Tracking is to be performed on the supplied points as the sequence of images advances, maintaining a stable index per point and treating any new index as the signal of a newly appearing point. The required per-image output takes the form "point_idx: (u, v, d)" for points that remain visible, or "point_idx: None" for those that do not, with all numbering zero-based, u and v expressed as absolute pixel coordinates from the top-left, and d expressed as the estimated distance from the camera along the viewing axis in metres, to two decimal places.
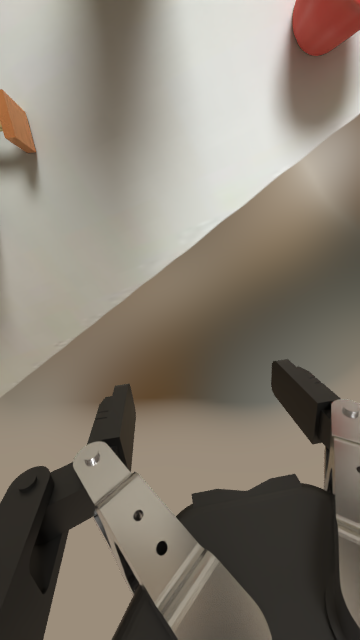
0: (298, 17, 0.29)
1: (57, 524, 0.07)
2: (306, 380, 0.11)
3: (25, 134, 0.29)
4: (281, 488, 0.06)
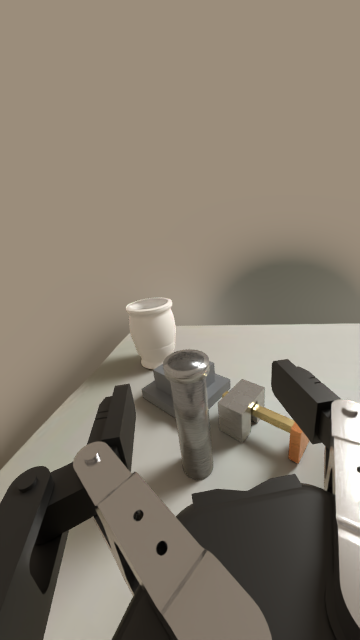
0: None
1: (57, 524, 0.07)
2: (306, 380, 0.11)
3: (303, 445, 0.29)
4: (281, 488, 0.06)
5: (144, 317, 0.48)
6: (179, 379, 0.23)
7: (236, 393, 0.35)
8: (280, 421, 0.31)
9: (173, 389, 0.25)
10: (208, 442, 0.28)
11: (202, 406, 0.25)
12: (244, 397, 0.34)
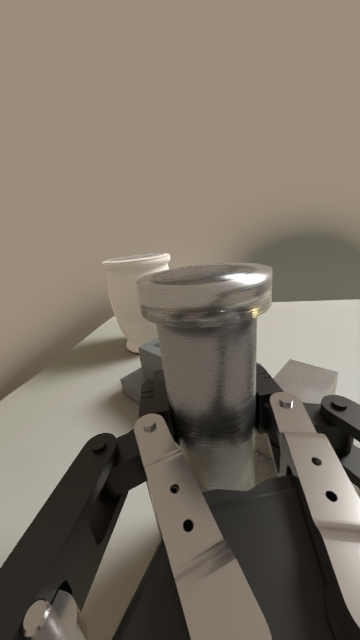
0: None
1: (123, 482, 0.08)
2: (256, 375, 0.11)
3: None
4: (281, 488, 0.06)
5: (127, 273, 0.32)
6: (185, 311, 0.07)
7: (287, 382, 0.19)
8: None
9: (166, 355, 0.09)
10: None
11: (246, 405, 0.09)
12: (305, 389, 0.18)
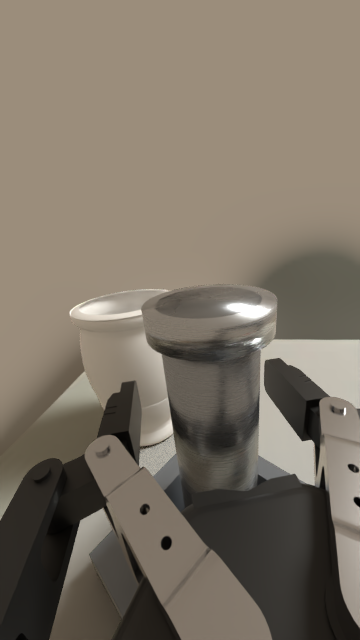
0: None
1: (70, 514, 0.08)
2: (296, 378, 0.11)
3: None
4: (281, 488, 0.06)
5: (108, 336, 0.19)
6: (191, 345, 0.07)
7: None
8: None
9: (171, 381, 0.09)
10: None
11: (250, 430, 0.09)
12: None
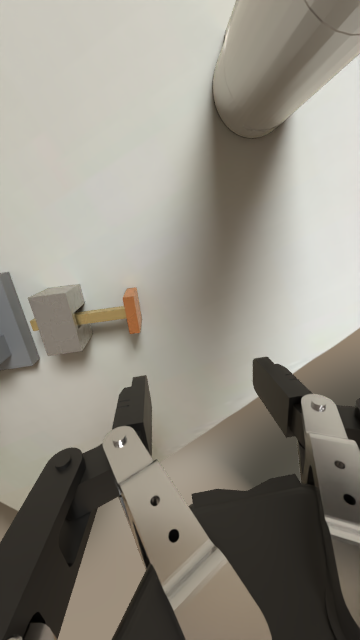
0: None
1: (89, 500, 0.08)
2: (281, 376, 0.11)
3: (139, 314, 0.29)
4: (281, 488, 0.06)
5: None
6: None
7: (48, 327, 0.26)
8: (112, 319, 0.27)
9: None
10: None
11: None
12: (62, 327, 0.26)
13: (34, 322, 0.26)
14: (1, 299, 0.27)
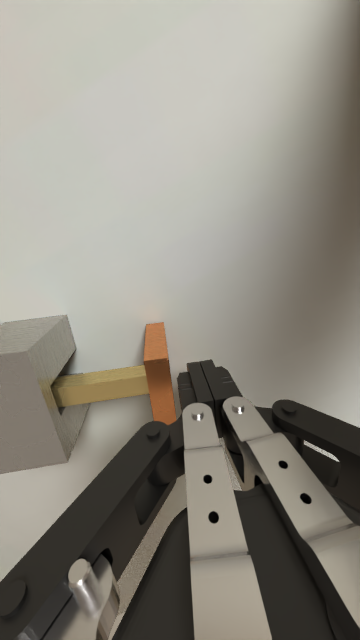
0: None
1: (175, 468, 0.09)
2: (216, 379, 0.11)
3: None
4: None
5: None
6: None
7: None
8: (119, 397, 0.13)
9: None
10: None
11: None
12: (22, 421, 0.12)
13: None
14: None
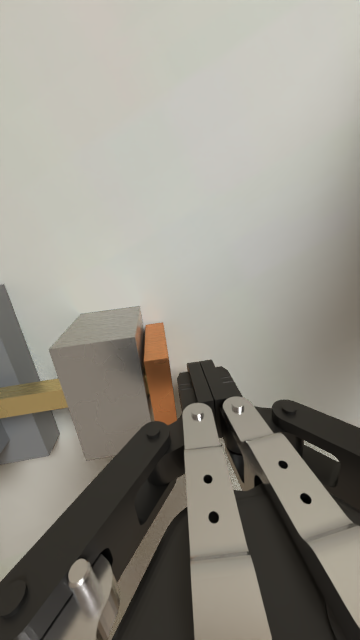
0: None
1: (175, 468, 0.09)
2: (216, 379, 0.11)
3: None
4: None
5: None
6: None
7: (91, 409, 0.12)
8: None
9: None
10: None
11: None
12: (120, 406, 0.12)
13: None
14: None
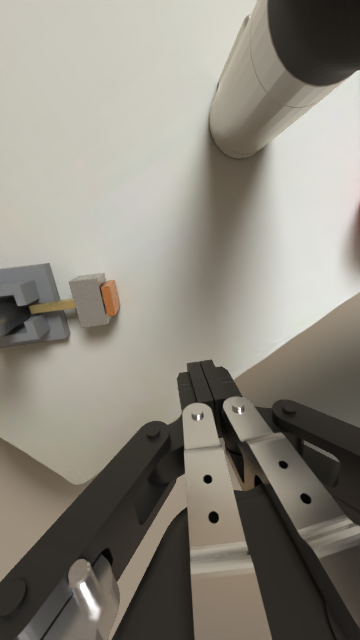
0: None
1: (175, 468, 0.09)
2: (216, 379, 0.11)
3: (116, 301, 0.37)
4: None
5: None
6: None
7: (83, 305, 0.33)
8: None
9: None
10: (10, 317, 0.31)
11: None
12: (93, 305, 0.33)
13: (32, 306, 0.34)
14: (44, 284, 0.35)
